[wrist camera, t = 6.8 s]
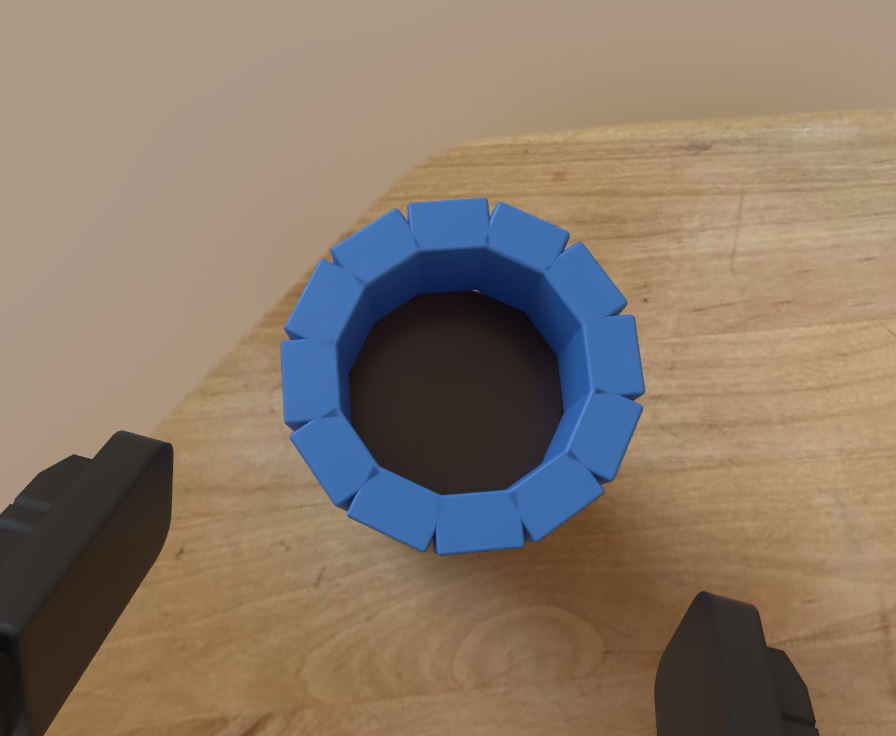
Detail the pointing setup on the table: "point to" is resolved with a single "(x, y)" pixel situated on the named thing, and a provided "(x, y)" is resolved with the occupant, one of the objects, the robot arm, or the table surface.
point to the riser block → (456, 393)
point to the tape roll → (507, 280)
